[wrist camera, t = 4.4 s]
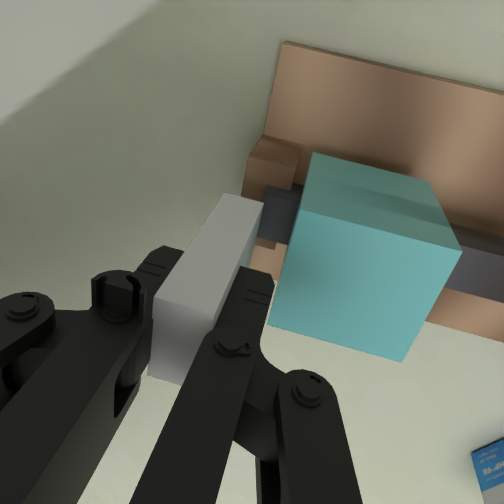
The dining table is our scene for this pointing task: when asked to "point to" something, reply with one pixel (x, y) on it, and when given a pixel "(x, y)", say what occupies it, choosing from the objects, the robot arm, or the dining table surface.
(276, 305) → the sleeve
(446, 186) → the cradle board
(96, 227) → the dining table surface
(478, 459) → the ink box
